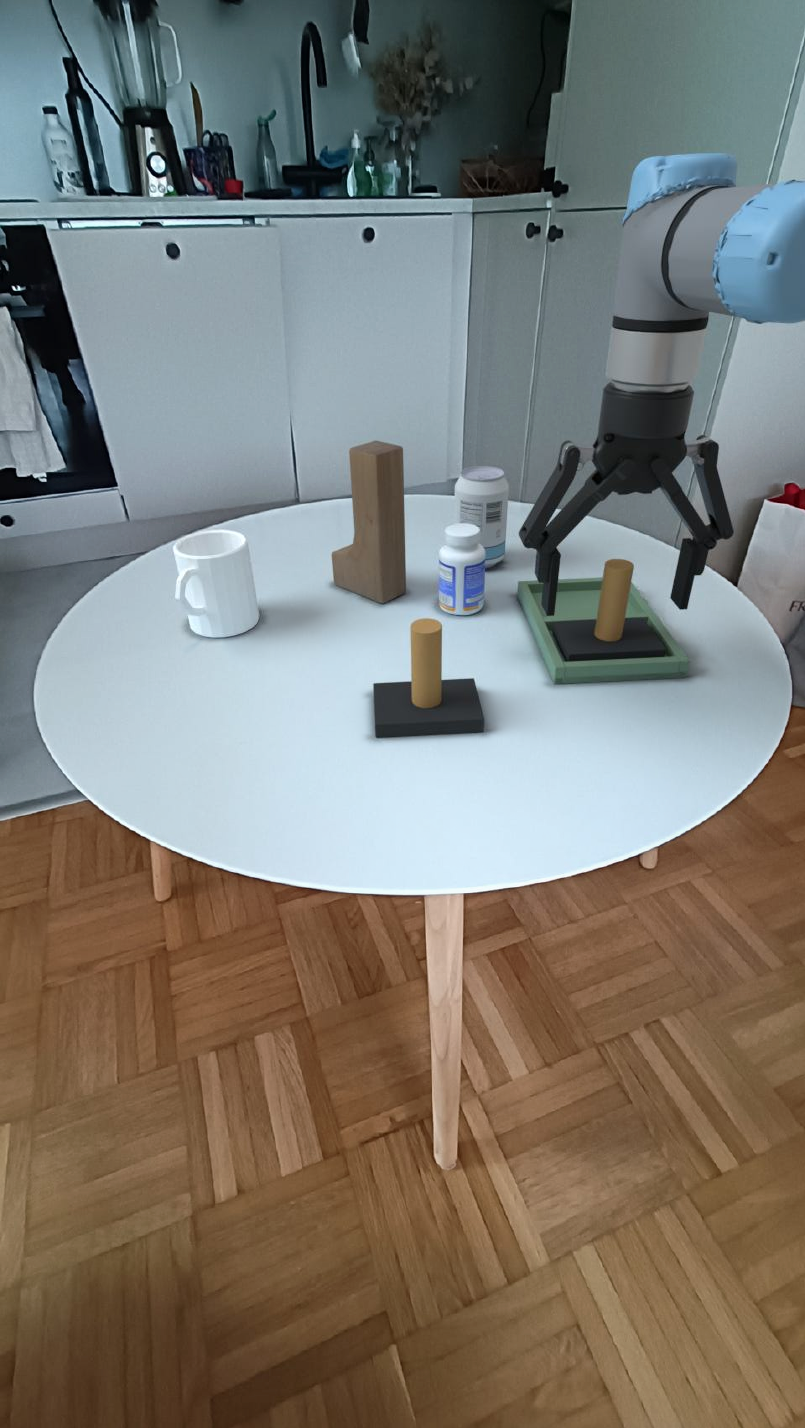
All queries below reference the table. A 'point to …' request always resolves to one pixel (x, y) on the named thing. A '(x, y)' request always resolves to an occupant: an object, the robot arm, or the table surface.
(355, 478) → the wooden block
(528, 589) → the pad holder
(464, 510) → the beverage can
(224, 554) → the mug
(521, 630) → the table surface
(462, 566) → the pill bottle
